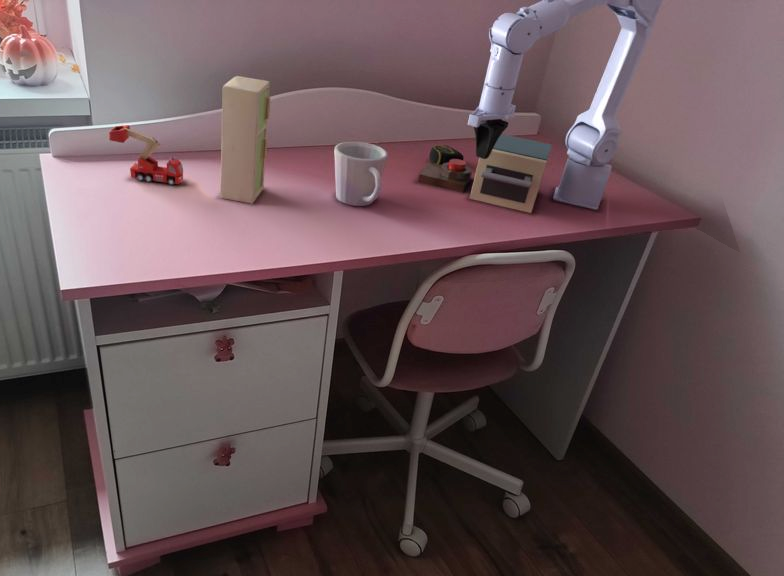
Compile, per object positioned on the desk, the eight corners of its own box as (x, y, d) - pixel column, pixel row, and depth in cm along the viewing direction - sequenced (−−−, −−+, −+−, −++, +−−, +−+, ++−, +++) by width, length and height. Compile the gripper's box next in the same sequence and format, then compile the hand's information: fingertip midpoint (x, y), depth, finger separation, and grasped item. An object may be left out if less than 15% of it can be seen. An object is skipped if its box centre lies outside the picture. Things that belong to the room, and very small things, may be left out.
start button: (465, 168, 147) (467, 161, 146) (462, 174, 145) (464, 166, 144) (449, 165, 148) (451, 157, 147) (446, 170, 145) (448, 162, 144)
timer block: (471, 180, 151) (474, 164, 149) (463, 193, 144) (467, 177, 142) (427, 170, 153) (430, 155, 151) (417, 182, 146) (420, 167, 144)
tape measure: (462, 168, 156) (466, 153, 154) (439, 171, 153) (442, 155, 151) (445, 158, 161) (448, 143, 159) (422, 160, 158) (425, 145, 156)
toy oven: (531, 210, 140) (547, 159, 133) (470, 196, 143) (483, 145, 136) (537, 193, 148) (552, 144, 142) (479, 180, 151) (491, 131, 145)
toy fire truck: (180, 186, 131) (179, 138, 126) (112, 177, 132) (108, 128, 126) (185, 180, 134) (184, 132, 129) (118, 171, 134) (114, 123, 129)
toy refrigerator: (256, 205, 128) (262, 91, 116) (219, 198, 129) (221, 85, 117) (267, 190, 134) (273, 81, 122) (232, 183, 135) (235, 75, 123)
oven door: (529, 219, 135) (544, 168, 129) (466, 204, 138) (478, 153, 132) (531, 210, 139) (547, 160, 133) (470, 196, 142) (482, 146, 136)
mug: (367, 187, 141) (374, 140, 135) (398, 217, 130) (407, 167, 124) (321, 189, 137) (326, 141, 132) (349, 221, 126) (356, 170, 121)
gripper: (499, 96, 118) (481, 171, 126) (536, 86, 127) (517, 156, 135) (465, 86, 121) (449, 159, 129) (503, 77, 131) (486, 145, 138)
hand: (482, 157), depth 132 cm, fingers closed
